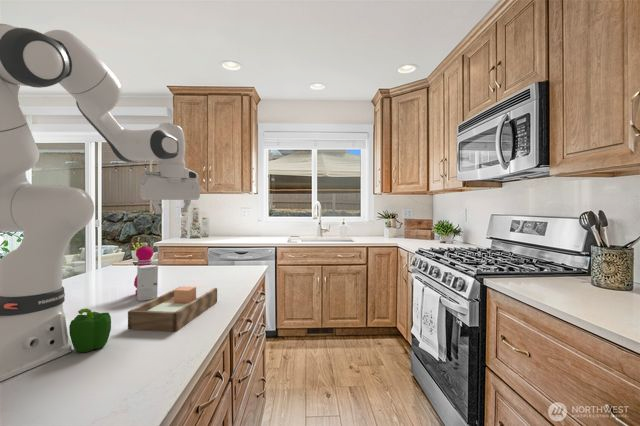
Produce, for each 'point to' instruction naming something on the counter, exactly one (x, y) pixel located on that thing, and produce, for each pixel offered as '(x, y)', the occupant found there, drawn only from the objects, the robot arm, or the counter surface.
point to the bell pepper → (90, 330)
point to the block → (184, 294)
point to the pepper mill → (143, 258)
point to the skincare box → (147, 282)
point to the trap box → (169, 312)
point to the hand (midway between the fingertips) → (172, 213)
